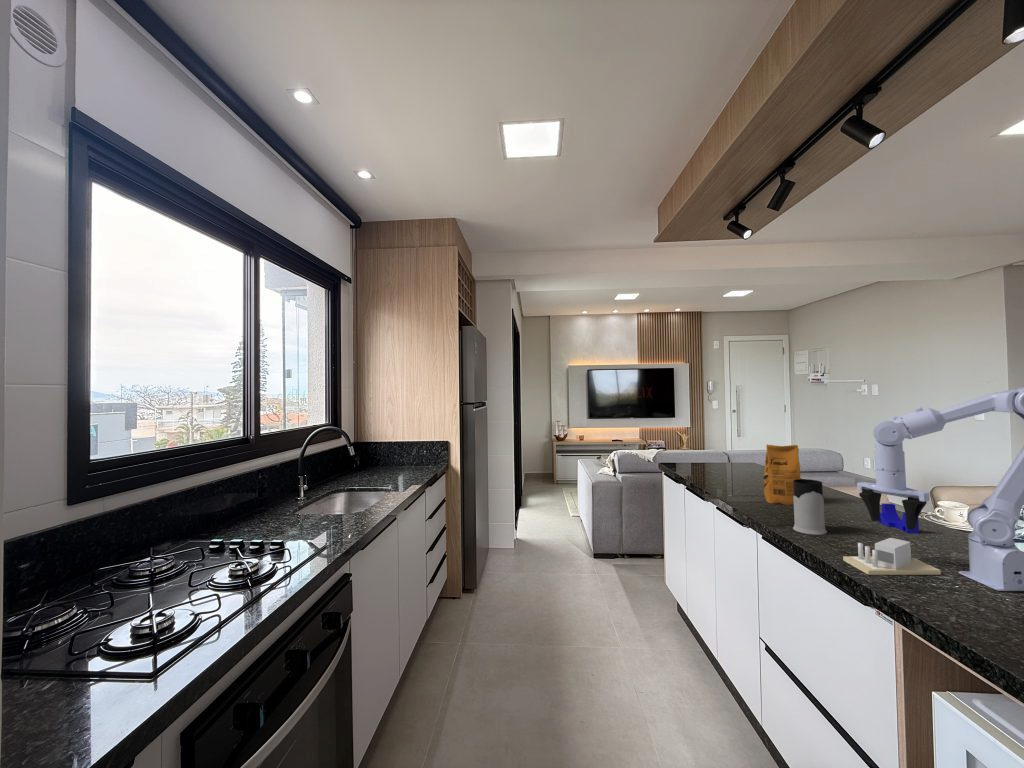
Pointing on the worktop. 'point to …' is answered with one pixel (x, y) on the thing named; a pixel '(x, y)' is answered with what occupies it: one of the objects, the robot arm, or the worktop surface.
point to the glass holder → (809, 507)
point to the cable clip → (895, 519)
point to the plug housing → (893, 553)
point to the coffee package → (781, 473)
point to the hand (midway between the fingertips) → (892, 524)
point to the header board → (872, 568)
